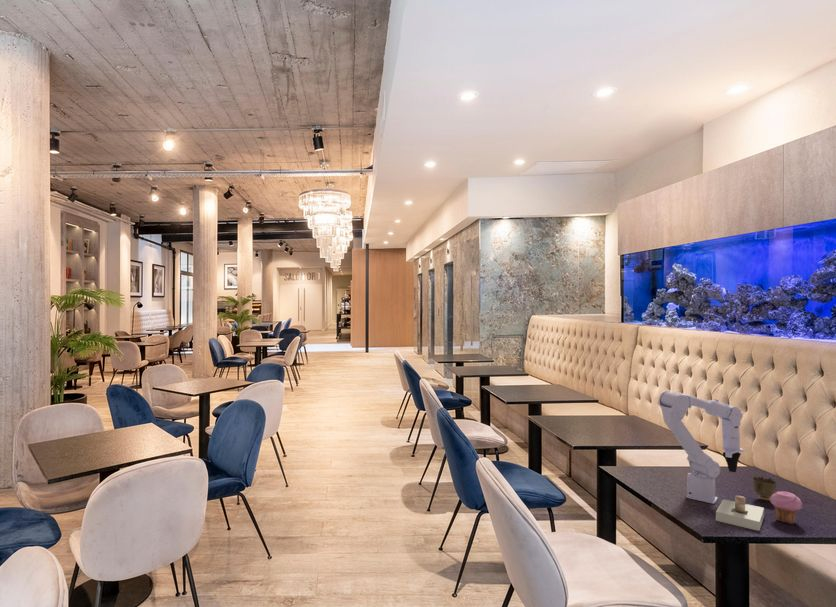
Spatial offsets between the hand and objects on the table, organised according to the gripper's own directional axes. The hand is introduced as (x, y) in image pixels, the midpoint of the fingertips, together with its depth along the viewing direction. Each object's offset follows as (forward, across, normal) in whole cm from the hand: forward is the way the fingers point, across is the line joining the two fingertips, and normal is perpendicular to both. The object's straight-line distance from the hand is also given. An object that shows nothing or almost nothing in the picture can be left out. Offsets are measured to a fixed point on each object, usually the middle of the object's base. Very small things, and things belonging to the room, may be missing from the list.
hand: (732, 471), depth 197 cm
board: (+9, -23, -5) cm, 25 cm away
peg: (+9, -25, -5) cm, 27 cm away
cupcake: (+10, -15, -18) cm, 25 cm away
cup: (+11, +5, -9) cm, 15 cm away
